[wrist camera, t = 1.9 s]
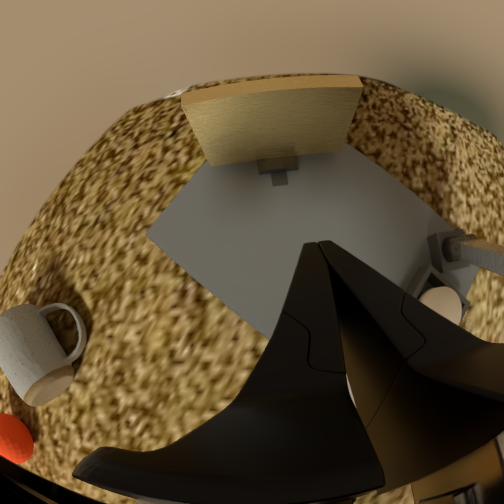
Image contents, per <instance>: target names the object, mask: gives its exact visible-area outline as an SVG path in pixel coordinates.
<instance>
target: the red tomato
mask: <svg viewBox="0 0 504 504" xmlns="http://www.w3.org/2000/svg"><path fill="white" fill-rule="evenodd" d="M33 448H34V444H33V439H32V436H31V433H30V432H29V430H28V428H27V427H26V426H25V425H24V424H23V423H22V422H21V421H20V420H19V419H18V418H16V417H14V416H12V415H9V414H0V455H2V456H3V457H5V458H7V459H8V460H10V461H12V462H14V463H23V462H25V461H27V460H28V459H29V458H30V457H31V455H32V453H33Z"/></svg>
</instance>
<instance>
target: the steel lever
mask: <svg viewBox="0 0 504 504" xmlns="http://www.w3.org/2000/svg"><path fill="white" fill-rule="evenodd" d="M442 252H443V255H444V258H445V259H446V261H448V262H454V261H459V260H461V261H464V262H466V263H469V264H472V265H475V266H478V267H480V268H483V269H486V270H489V271H491V272H494V273H497V274H499V275H502V276H504V246H501V245H497V244H493V243H489V242H485V241H480V240H478V239H477V237H476V236H475V235H474V234H465V235H459V236H452V237H446V238H445V239H444V241H443V244H442Z"/></svg>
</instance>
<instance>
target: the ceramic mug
mask: <svg viewBox="0 0 504 504" xmlns="http://www.w3.org/2000/svg"><path fill="white" fill-rule="evenodd" d="M59 309H65V310H68V311H69V312H70V313H71V314H72V316H73V318H74V320H75V321H76V324H77V331H78V332H79V334H78V336H79V340H78V343H77V345H76V348H75V349H74V350H73V352H72V353H71V354H70V355H69V356H67V355H66V353H65V351H64V350H63V348H62V347H61V345H60V344H59V342H58V340H57V338H56V336H55V335H54V333H53V331H52V329H51V327H50V325H49V323H48V322H47V320H46V318H45V316H46V315H47V314H49V313H50V312H53V311H55V310H59ZM86 340H87V334H86V327H85V324H84V322H83V320H82V318H81V316H80V315H79V314H78V313H77V312H76V311H75V310H74V309H73V308H72V307H70V306H68V305H67V304H63V303H53V304H49V305H47V306H44V307H42V308H41V309H40V308H39V307H38V306H36V305H33V304H22V305H18V306H15V307H12V308H10V309H8V310H7V311H5V312H3V313H2V314H1V315H0V366H1V368H2V370H3V371H4V373H5V375H6V376H7V378H8V380H9V382H10V383H11V385H12V386H13V388H14V389H15V391H16V392H17V394H18V395H19V396H20V397H21V399H22V400H23V401H24V402H25V403H26V404H28V405H30V406H40V405H43V404H46V403H47V402H49V401H51V400H53V399H54V398H56V397H57V396H58V395H60V394H61V393H62V392H63V391H64V390H65V389H66V388H68V386H69V385H70V384H71V383H72V381H73V379H74V369H73V367H72V362H73V361H75V360H76V359H77V358H78V357H79V356H80V354H81V353H82V351H83V349H84V347H85V344H86Z"/></svg>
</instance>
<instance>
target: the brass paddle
mask: <svg viewBox="0 0 504 504" xmlns="http://www.w3.org/2000/svg"><path fill="white" fill-rule="evenodd" d="M363 88H364V87H363V85H362V83H361V81H360V79H359V77H358V76H355V75H316V76H295V77H282V78H271V79H262V80H253V81H246V82H239V83H233V84H226V85H221V86H215V87H210V88H205V89H200V90H195V91H191V92H187V93H182V100H181V107H182V109H183V111H184V113H185V115H186V117H187V119H188V121H189V123H190V125H191V127H192V129H193V131H194V133H195V135H196V137H197V139H198V141H199V143H200V145H201V148H202V150H203V152H204V154H205V156H206V158H207V160H208V162H209V164H210V166H211V167H213V166H219V165H225V164H232V163H238V162H245V161H252V160H257V165H258V172H259V175H262V174H270V173H278V172H286V171H295V170H298V168H299V165H298V161H297V156H296V155H303V154H315V153H327V152H341V149H342V146H343V144H344V141H345V138H346V136H347V133H348V130H349V127H350V125H351V122H352V119H353V116H354V114H355V111H356V108H357V105H358V102H359V99H360V97H361V94H362V91H363Z"/></svg>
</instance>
